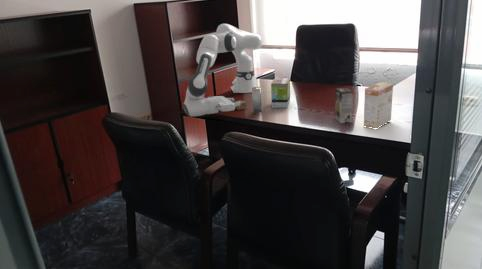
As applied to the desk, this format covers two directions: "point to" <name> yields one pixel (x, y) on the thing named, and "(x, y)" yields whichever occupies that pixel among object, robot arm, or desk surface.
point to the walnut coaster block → (241, 105)
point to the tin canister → (256, 99)
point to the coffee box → (343, 105)
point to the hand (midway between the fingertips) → (237, 101)
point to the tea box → (280, 92)
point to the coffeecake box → (378, 104)
